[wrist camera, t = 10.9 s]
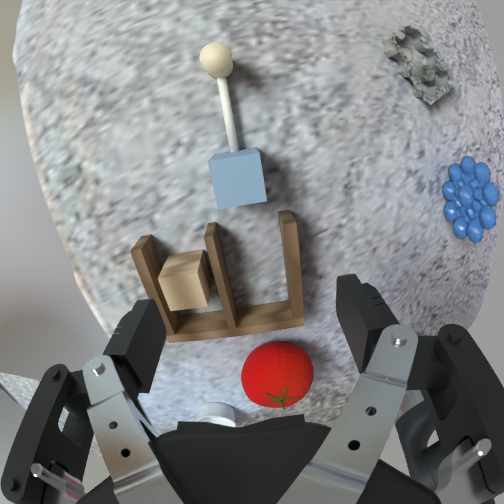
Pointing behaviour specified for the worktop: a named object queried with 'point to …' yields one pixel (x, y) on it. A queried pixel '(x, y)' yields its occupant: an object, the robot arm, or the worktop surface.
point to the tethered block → (232, 143)
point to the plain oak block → (186, 280)
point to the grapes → (470, 199)
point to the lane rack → (226, 292)
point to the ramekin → (217, 414)
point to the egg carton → (421, 72)
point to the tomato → (277, 375)
